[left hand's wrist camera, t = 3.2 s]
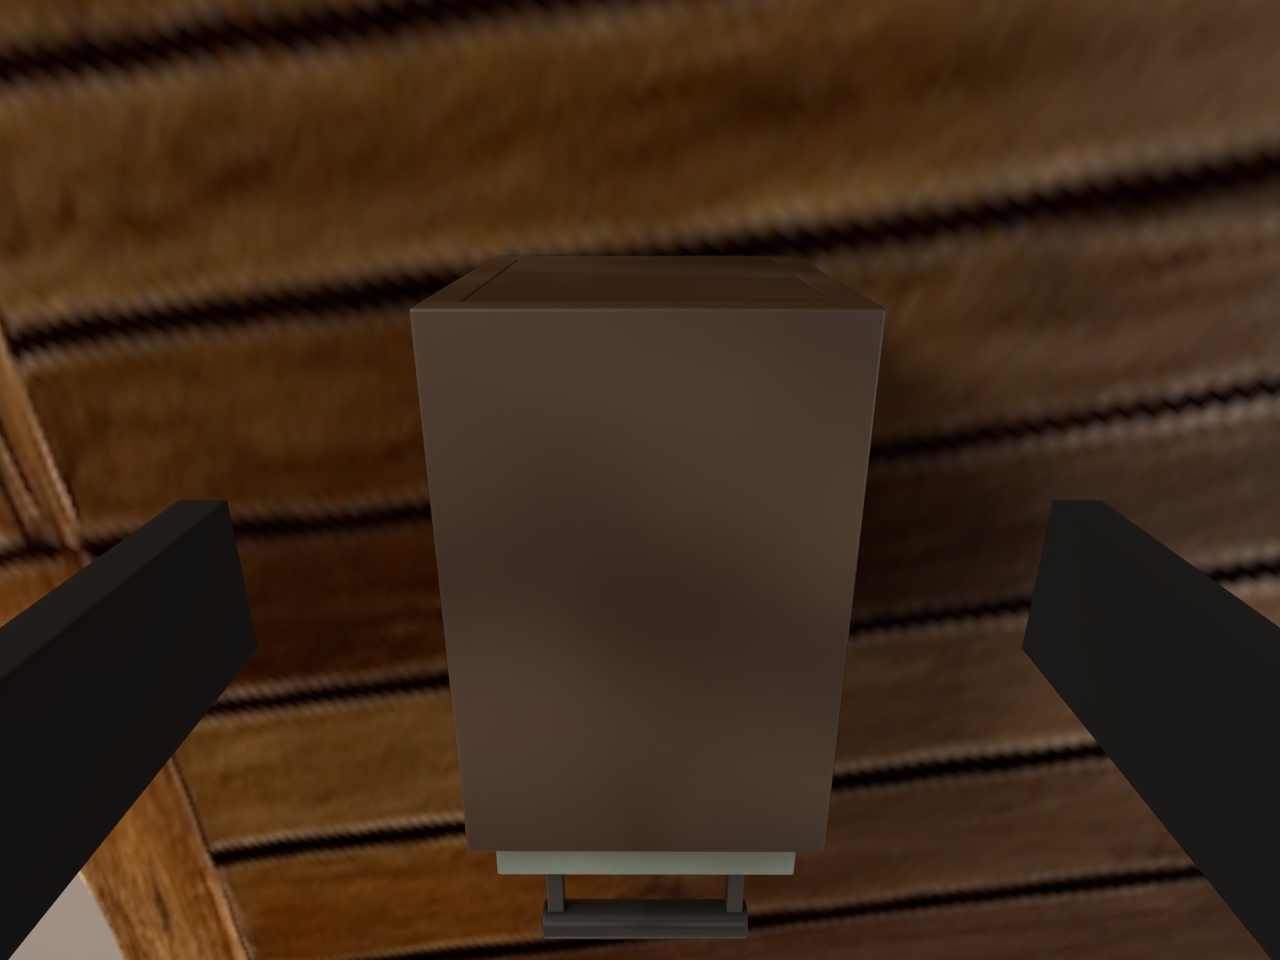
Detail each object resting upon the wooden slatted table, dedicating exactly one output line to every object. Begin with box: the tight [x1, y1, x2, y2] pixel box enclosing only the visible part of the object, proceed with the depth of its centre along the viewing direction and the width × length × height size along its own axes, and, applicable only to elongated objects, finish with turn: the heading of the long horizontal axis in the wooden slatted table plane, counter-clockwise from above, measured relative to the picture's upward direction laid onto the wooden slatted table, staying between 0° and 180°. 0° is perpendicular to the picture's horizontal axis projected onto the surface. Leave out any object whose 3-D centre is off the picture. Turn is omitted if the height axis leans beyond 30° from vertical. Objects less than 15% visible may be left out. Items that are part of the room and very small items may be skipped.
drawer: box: [496, 851, 796, 939], centre depth 28 cm, size 21×9×9 cm, turn 0°
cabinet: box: [410, 256, 886, 852], centre depth 26 cm, size 16×11×11 cm, turn 0°
